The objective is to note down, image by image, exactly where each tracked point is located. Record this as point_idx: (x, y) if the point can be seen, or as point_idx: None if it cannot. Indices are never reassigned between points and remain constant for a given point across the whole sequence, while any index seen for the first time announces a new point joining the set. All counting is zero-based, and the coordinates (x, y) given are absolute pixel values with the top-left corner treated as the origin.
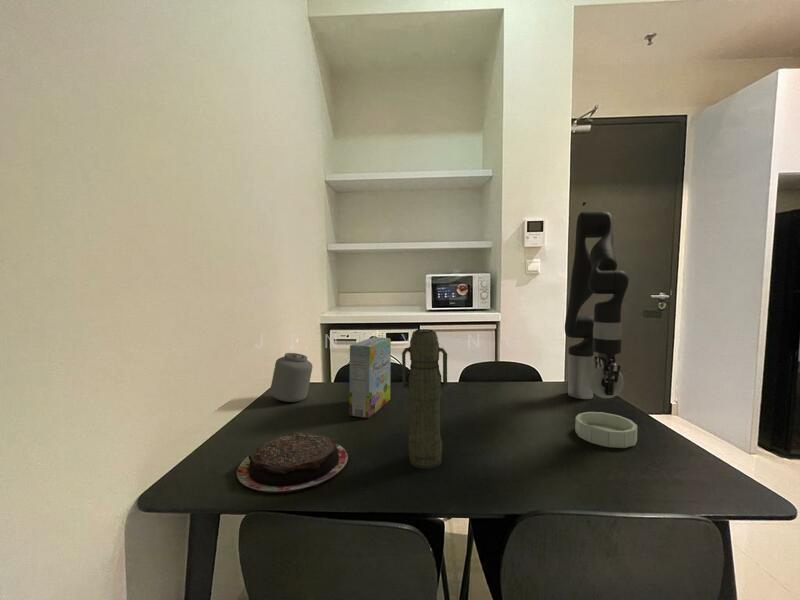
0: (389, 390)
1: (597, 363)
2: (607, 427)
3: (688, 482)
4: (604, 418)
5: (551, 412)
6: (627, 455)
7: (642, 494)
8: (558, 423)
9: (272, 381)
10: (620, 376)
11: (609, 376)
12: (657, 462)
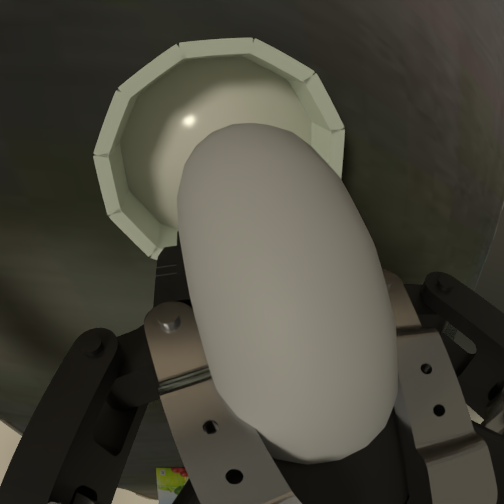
0: (161, 482)
1: (106, 492)
2: (156, 131)
3: (466, 67)
4: (115, 144)
5: (49, 291)
6: (367, 129)
7: (484, 179)
8: (140, 281)
9: None
10: (368, 232)
11: (462, 362)
12: (399, 68)
